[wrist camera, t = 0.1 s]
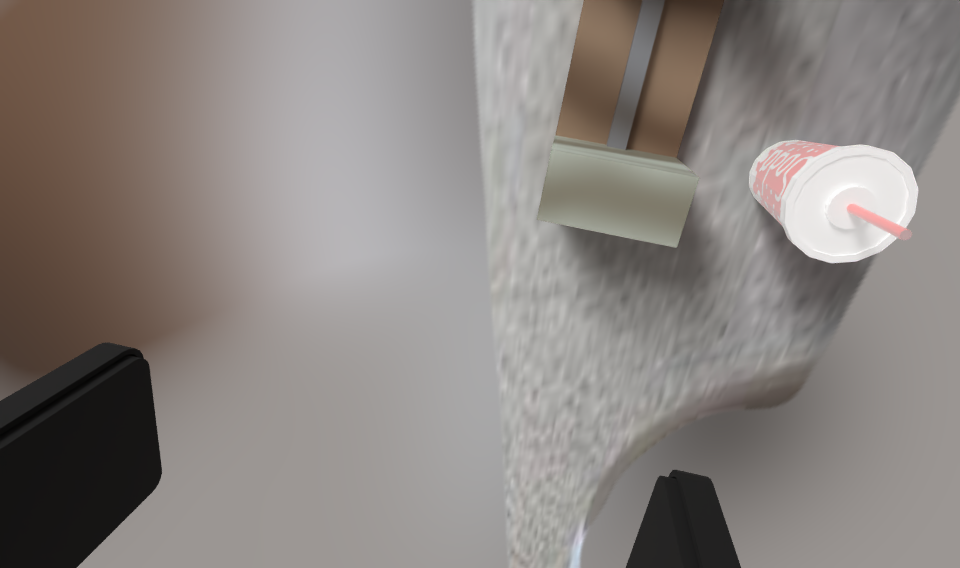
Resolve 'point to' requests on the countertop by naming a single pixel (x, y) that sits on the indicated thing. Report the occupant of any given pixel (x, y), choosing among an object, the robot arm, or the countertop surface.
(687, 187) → the rail stand
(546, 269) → the countertop surface
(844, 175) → the beverage cup
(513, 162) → the countertop surface
